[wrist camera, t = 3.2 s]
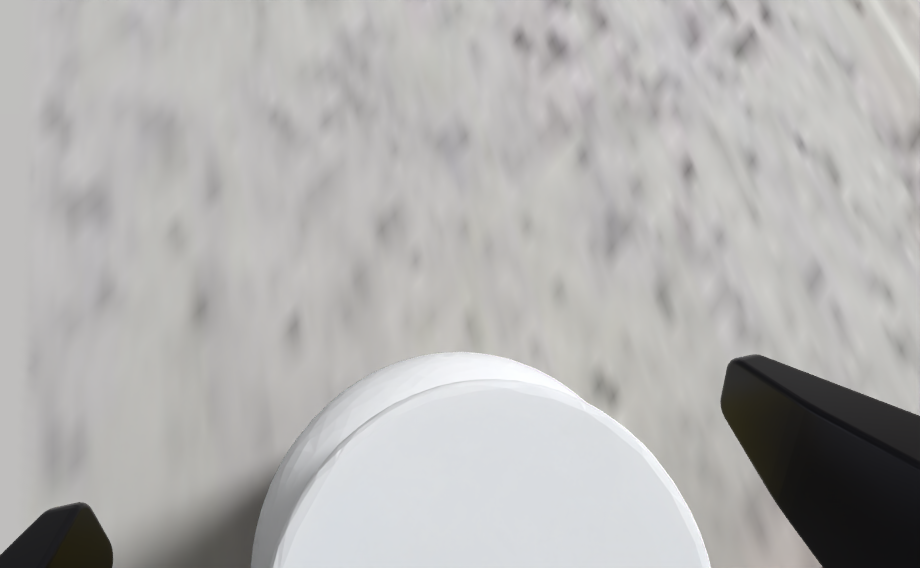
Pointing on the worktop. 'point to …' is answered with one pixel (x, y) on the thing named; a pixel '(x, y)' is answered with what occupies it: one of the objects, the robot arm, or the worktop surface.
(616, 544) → the supplement bottle
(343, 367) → the worktop surface
